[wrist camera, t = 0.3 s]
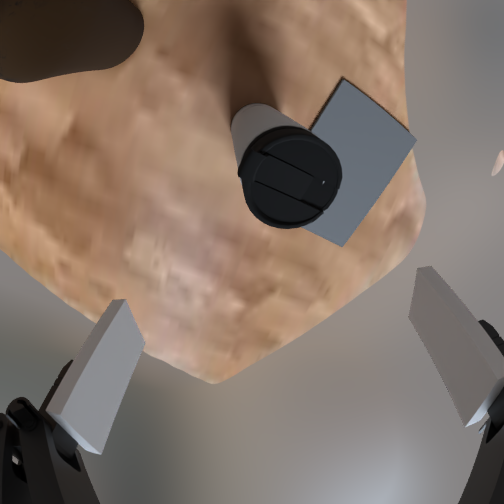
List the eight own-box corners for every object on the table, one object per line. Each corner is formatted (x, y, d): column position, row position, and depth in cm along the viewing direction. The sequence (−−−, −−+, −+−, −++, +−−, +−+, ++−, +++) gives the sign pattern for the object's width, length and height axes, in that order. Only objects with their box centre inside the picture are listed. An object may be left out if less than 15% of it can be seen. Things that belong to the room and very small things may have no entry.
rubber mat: (342, 79, 30) (344, 79, 29) (414, 138, 34) (417, 139, 34) (262, 207, 39) (263, 209, 38) (340, 245, 43) (342, 247, 43)
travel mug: (242, 93, 30) (270, 111, 13) (292, 117, 32) (368, 167, 16) (219, 138, 33) (218, 211, 16) (267, 160, 35) (313, 249, 19)
